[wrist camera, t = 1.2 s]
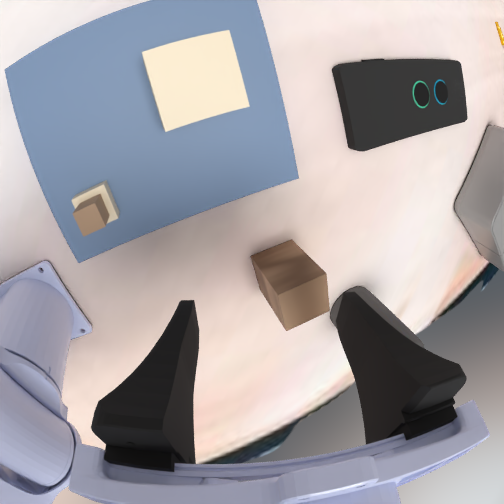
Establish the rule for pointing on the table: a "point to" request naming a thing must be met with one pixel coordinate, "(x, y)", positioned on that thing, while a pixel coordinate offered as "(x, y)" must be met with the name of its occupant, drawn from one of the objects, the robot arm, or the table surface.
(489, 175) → the projector
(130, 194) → the board
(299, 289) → the walnut block
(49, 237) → the table surface
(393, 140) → the smart home device
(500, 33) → the marker pen
